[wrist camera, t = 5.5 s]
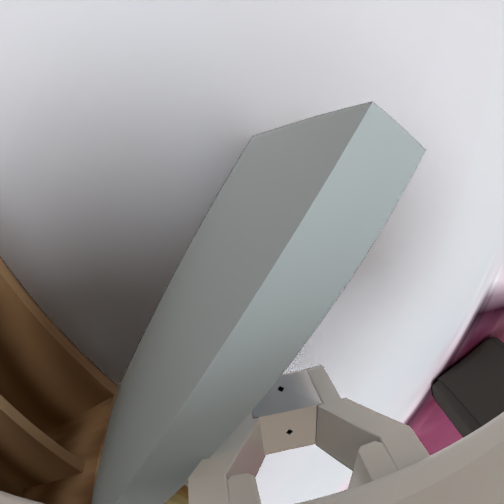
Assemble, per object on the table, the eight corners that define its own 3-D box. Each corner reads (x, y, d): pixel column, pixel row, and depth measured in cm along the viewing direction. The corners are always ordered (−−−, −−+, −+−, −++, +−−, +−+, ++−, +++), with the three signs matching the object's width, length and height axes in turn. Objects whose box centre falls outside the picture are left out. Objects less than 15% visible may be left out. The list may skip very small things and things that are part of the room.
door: (115, 394, 19) (83, 545, 8) (252, 136, 15) (372, 101, 4) (131, 400, 19) (107, 552, 8) (272, 148, 16) (426, 149, 4)
